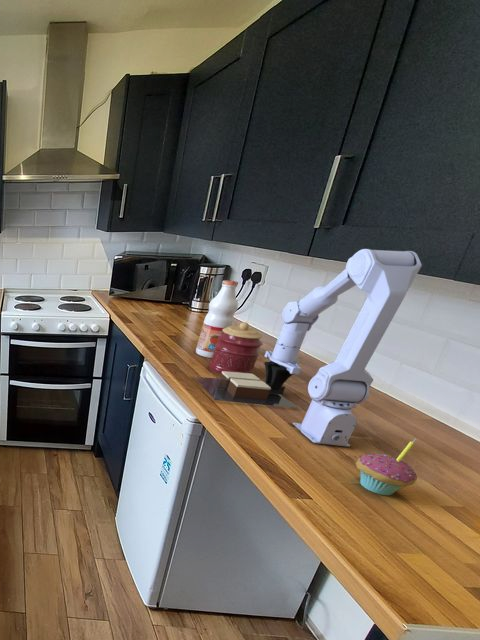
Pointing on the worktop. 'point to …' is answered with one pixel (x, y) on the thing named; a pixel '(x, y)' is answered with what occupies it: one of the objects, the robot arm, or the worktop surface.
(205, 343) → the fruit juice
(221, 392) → the cake board
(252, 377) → the cake back half
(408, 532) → the worktop surface
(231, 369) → the kitchen canister
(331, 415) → the robot arm
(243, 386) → the cake front half
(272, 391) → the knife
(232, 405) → the worktop surface
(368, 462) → the cupcake
